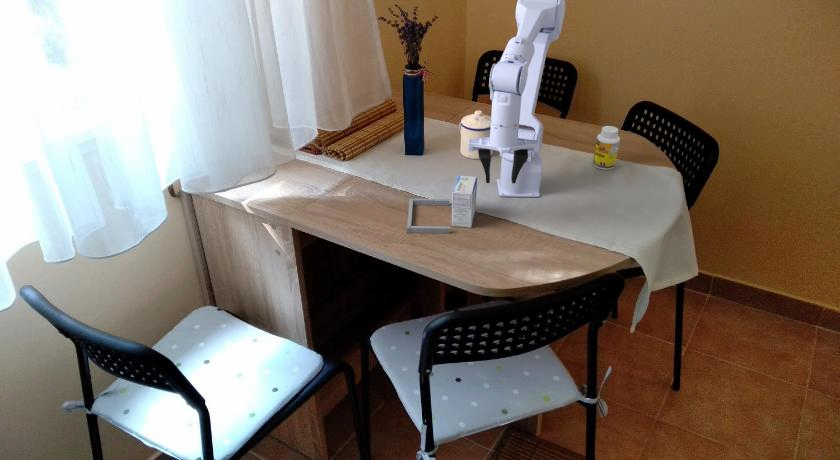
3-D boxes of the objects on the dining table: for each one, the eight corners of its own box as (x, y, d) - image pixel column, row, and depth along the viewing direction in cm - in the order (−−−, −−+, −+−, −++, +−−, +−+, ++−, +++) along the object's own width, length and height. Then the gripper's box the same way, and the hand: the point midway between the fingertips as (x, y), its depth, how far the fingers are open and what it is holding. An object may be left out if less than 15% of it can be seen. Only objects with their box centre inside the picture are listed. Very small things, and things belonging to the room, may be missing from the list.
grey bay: (449, 203, 146) (449, 199, 145) (450, 233, 136) (450, 228, 135) (409, 202, 146) (409, 198, 146) (407, 232, 136) (407, 227, 135)
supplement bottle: (588, 163, 163) (594, 126, 158) (606, 159, 165) (612, 122, 160) (601, 172, 159) (607, 134, 154) (619, 168, 161) (626, 131, 155)
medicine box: (471, 228, 137) (473, 193, 132) (451, 226, 138) (452, 191, 133) (475, 210, 144) (477, 176, 139) (456, 208, 144) (457, 174, 140)
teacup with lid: (500, 154, 168) (503, 113, 161) (473, 163, 163) (475, 121, 157) (473, 138, 176) (475, 98, 170) (446, 146, 172) (447, 105, 166)
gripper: (469, 129, 125) (467, 189, 132) (543, 130, 125) (536, 190, 132) (468, 115, 131) (466, 173, 138) (539, 116, 131) (532, 174, 138)
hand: (500, 181), depth 135 cm, fingers open, 5 cm apart
